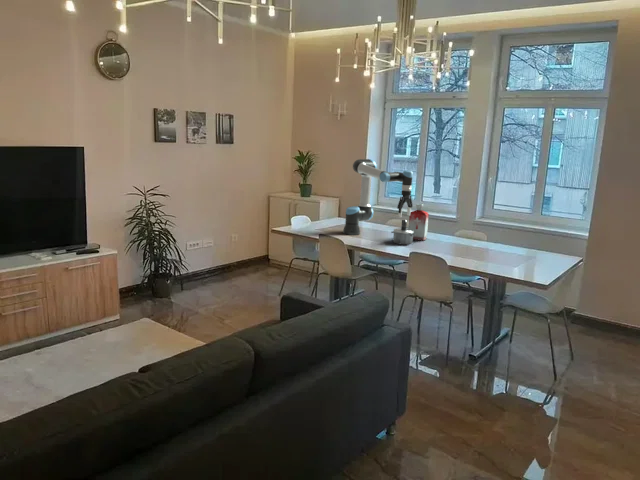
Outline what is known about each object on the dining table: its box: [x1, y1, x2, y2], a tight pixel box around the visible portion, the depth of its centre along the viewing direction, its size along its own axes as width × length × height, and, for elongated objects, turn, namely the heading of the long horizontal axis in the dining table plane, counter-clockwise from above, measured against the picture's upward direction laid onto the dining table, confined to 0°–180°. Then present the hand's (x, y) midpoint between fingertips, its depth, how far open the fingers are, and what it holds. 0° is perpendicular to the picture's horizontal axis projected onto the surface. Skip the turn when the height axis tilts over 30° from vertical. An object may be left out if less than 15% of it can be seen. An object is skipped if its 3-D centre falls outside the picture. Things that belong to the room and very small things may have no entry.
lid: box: [392, 219, 414, 234], centre depth 418 cm, size 16×16×10 cm
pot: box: [390, 230, 416, 246], centre depth 420 cm, size 21×16×9 cm
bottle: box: [408, 203, 430, 242], centre depth 433 cm, size 14×10×30 cm
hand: (404, 216), depth 416 cm, fingers open, 13 cm apart
